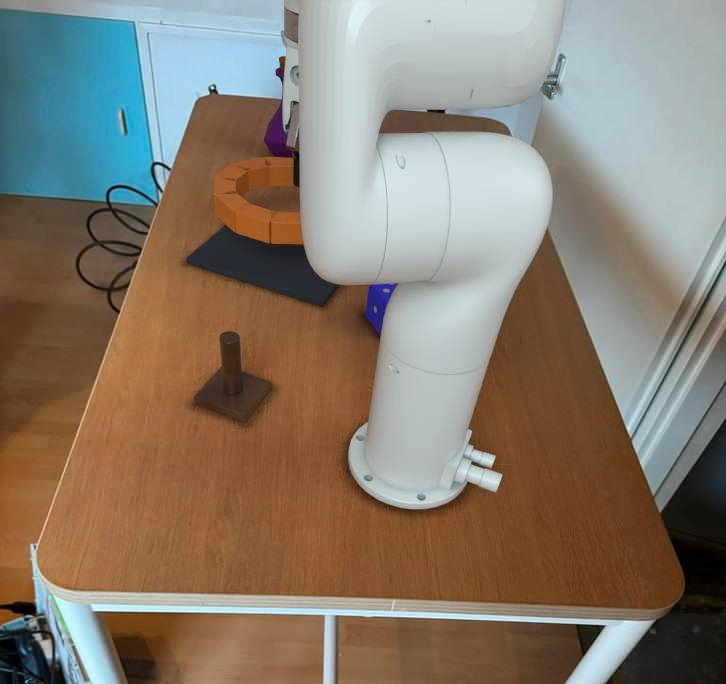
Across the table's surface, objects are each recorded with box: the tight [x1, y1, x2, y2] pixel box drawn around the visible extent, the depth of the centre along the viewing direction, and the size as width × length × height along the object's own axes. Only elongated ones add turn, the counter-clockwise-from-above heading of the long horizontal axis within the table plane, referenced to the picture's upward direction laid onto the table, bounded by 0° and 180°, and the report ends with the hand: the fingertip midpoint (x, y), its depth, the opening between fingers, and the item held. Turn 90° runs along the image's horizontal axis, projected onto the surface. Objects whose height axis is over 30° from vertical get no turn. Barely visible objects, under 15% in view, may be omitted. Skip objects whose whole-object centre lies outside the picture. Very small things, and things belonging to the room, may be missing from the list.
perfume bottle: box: [263, 30, 293, 158], centre depth 104 cm, size 8×8×18 cm
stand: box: [193, 330, 272, 424], centre depth 67 cm, size 6×6×8 cm
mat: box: [185, 207, 341, 307], centre depth 89 cm, size 20×18×1 cm
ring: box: [213, 156, 304, 244], centre depth 84 cm, size 18×18×3 cm
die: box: [364, 283, 398, 337], centre depth 80 cm, size 5×5×5 cm
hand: (309, 181), depth 90 cm, fingers closed on ring, 2 cm apart
